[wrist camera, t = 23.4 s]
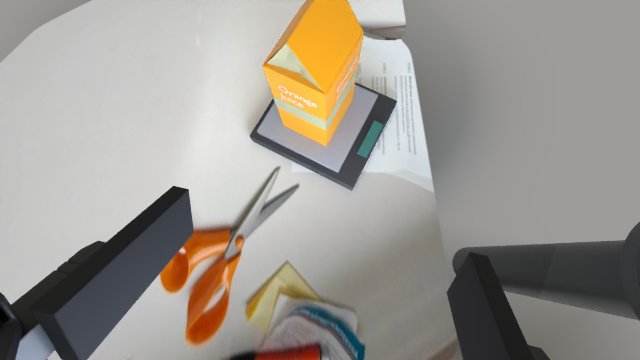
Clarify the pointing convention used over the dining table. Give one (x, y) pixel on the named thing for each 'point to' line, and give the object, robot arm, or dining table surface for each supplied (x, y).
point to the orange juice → (316, 68)
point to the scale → (345, 145)
